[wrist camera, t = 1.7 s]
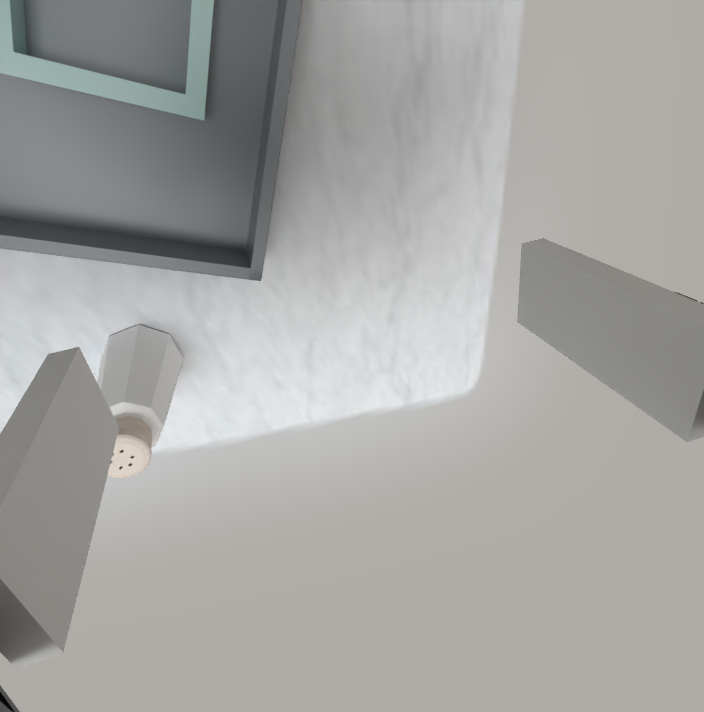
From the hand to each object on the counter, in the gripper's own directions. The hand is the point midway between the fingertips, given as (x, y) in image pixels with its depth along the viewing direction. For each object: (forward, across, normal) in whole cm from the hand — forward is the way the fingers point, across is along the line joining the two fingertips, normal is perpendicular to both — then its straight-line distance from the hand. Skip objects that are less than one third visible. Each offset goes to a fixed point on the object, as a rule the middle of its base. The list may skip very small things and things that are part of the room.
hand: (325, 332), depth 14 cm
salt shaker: (+20, -10, -9) cm, 24 cm away
